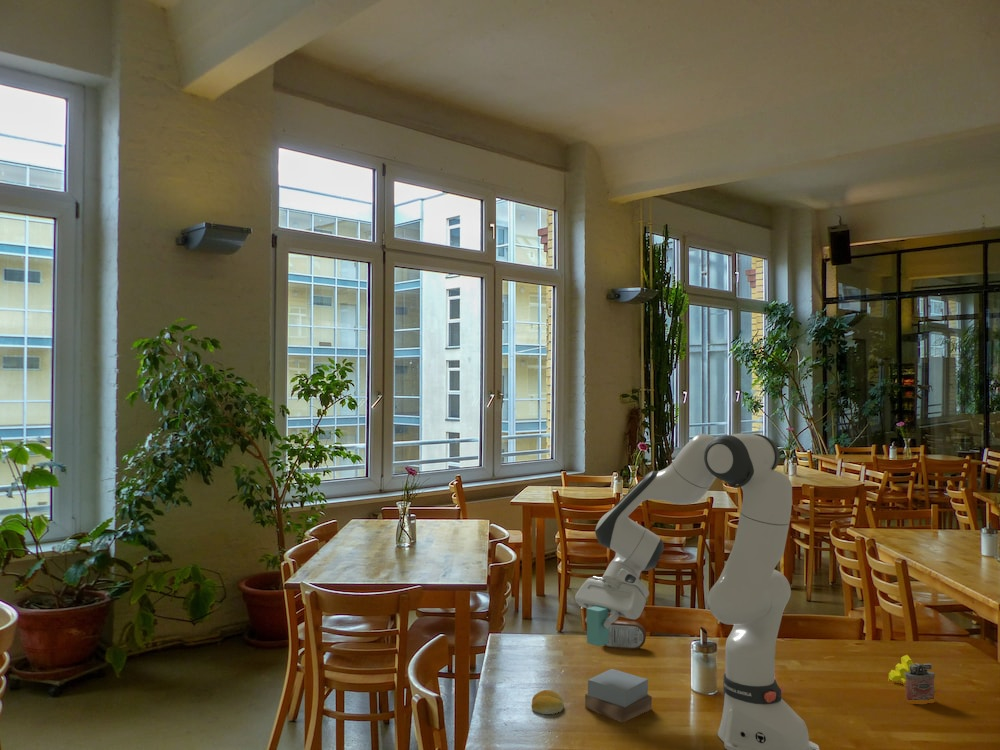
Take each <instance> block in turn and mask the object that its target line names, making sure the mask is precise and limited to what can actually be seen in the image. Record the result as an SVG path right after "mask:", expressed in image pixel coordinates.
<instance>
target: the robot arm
mask: <svg viewBox="0 0 1000 750" xmlns="http://www.w3.org/2000/svg"><path fill="white" fill-rule="evenodd" d="M779 463H780V450H779V448H778V445H777V444H776V443H775V441H773V440H772V439H771V438H770V437H768V436H765V435H763V434H758V433H752V434H750V433H744V432H741V433H740V432H739V433H732V434H725V435H720V436H718V437H716V436H713V435H711V434H707V433H700V434H696V435H694V437H692V438H691V439H690V440H689V441H688V442H687V443H686V444H685V445H684V446H683V447H682V449H681V450H680V451H679V452H678V453H677V454H676V456H675V458H673V461H672V462H671V463H670V464H669V465H668V466H667V467H665V468H663V469H661V470H652V471H650V472H648V473H647V474H646V475H644V476H643V477H642V478H641V479H640V480H639V481H638V482H636V484H635V485H634V486H633V487H632V488H631V489H630V490H629V491H628V492H627V493H626V494H625V495H624V496H622V498H621V499H620V500H619V501H618V502H617V503H616V504H615V505H614V506H613V507H612V508H611V509H610V510H608V512H606V513H605V514H604V515H602V516H601V518H600V519H599V520H598V522H597V523H596V526H595V529H594V533H595V537H596V540H597V541H598V544H600V545H601V546H603V547H605V548H607V549H609V550H612V551H614V552H615V555H614V557H613V559H612V560H611V561H610V562H609V563H608V565H607V567H606V570H605V571H604V573H603V575H602V576H598V575H597V576H596V575H593V576H591V577H588V578H586V580H585V581H584V582H583V583H582V585H581V586H580V587H579V589H578V591H576V594H575V595H574V600H575V602H576V603H577V605H578V606H579V607H580V608H581V607H582V608H585V609H587V608H590V607H594V606H599V607H603V608H607V609H608V618H607V619H603V621H602V623H601V626H603V628H607V629H608V628H609V626H610V625H611V624H612V623H613V622H614V621H616V620H619V617H623V618H625V619H629V620H632V621H633V620H634V621H635V620H637V619H638V618H640V617H641V615H642V612H644V608H645V606H646V603H647V601H646V599H647V598H648V597H649V596H650V591H649V590H648V588H647V586H646V585H645V584H644V582H643V581H642V580H641V579H640V576H641V573H642V572H643V571H644V572H645V571H649V570H652V569H655V568H656V567H657V565H658V563H659V560H660V558H661V556H662V554H663V552H664V551H665V547H664V543H663V540H662V538H661V537H660V536H659V535H657V534H656V533H655V532H653V531H652V530H649V529H648V528H647V527H646V528H645V527H644V526H642V525H641V524H639V523H638V522H636V521H634V520H632V518H630V517H629V516H630V515H631V514H632V513H633V512H634V511H635V510H636V509H637V508H639V507H638V506H640V505H641V504H642V503H643V502H644V501H647V500H648V501H651V500H655V501H660V502H661V501H662V502H666V503H671V504H675V505H681V506H682V505H683V506H684V505H691V504H694V503H696V502H698V501H700V500H701V499H702V498H703V496H705V495H706V493H707V492H708V491H709V490H710V488H711V486H712V485H713V484H714V482H715V480H716V479H719V480H720V481H723V482H724V483H726V484H727V485H728V486H730V487H732V488H734V489H738V488H741V490H742V503H741V507H740V513H739V519H738V523H737V529H736V534H735V539H734V541H733V546H732V548H731V551H730V554H729V556H728V557H727V558H728V559H727V560H726V563H725V565H724V567H723V569H722V571H721V573H720V576H719V577H718V579H717V580H716V582H715V583H714V584H713V585H712V587H710V590H709V591H708V596H707V605H708V608H709V611H710V612H711V614H712V615H713V617H714V618H715V619H716V620H717V621H718V622H720V623H722V624H724V625H730V626H731V625H733V626H732V630H731V631H730V633H729V635H728V637H727V638H726V641H725V672H724V674H723V681H722V682H723V683H722V684H723V688H722V690H723V696H724V699H723V700H724V701H723V709H722V714H721V715H722V716H721V720H720V725H719V728H718V731H717V736H718V737H719V739H720V740H721V741H722V742H723V746H724V749H726V750H820V747H819V745H818V744H817V743H815V742H813V741H811V740H810V737H809V736H810V735H809V730H808V727H807V724H806V722H805V721H804V720H803V718H801V716H800V715H798V713H796V712H795V710H793V708H792V707H791V706H790V705H789V704H788V703H787V702H786V701H785V700H784V699H783V698H782V697H783V696H782V693H783V692H785V691H786V690H785V688H786V686H785V685H783V686H782V687H780V686H779V685H778V683H777V680H776V679H775V665H776V663H775V659H776V647H777V646H776V645H777V639H778V635H779V631H780V626H781V622H782V617H783V615H784V610H785V609H786V606H787V605H788V602H789V601H790V598H791V596H792V589H791V585H790V582H789V580H788V579H787V577H786V576H785V575H784V574H783V573H782V572H781V571H779V570H777V569H775V568H776V567H777V565H778V564H779V562H780V561H781V560H782V558H783V557H784V554H785V549H786V548H785V547H786V544H787V539H788V533H789V528H790V522H791V517H792V507H793V486H792V485H793V484H792V482H791V480H790V479H789V478H788V477H787V476H786V475H785V474H783V473H782V472H780V471H777V470H776V468H777V467H778V465H779ZM609 614H610V615H609ZM584 621H585V623H586V624H587V616H586V617H585V619H584Z"/></svg>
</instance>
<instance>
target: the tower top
mask: <svg viewBox="0 0 1000 750" xmlns="http://www.w3.org/2000/svg"><path fill="white" fill-rule="evenodd" d="M648 688H649V679H648V678H645V677H641V676H638V675H635V674H631V673H629V672H628V673H627V672H625V671H623V670H622V671H621V670H618V669H615V668H610V669H608V670H605V671H604V672H601V673H600V674H597V675H594V676H593V677H591V678H589V679H587V693H588V696H591V697H594V698H597V699H600V700H603V701H606V702H609V703H612V704H615V705H618V706H622V707H627V706H629V705H630V704H632V703H634V702H636V701H638V700H639V699H641V698H643V697H645V696H646V695H649V693H648V692H649V690H648Z"/></svg>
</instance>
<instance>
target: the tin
mask: <svg viewBox="0 0 1000 750" xmlns="http://www.w3.org/2000/svg"><path fill="white" fill-rule="evenodd" d="M646 638H647V632H646V629H645V627H644V626H643V625H642V624H641V623H639V622H638V621H635V620H634V621H633V620H619V619H617V620H616V621H614V622H613V623H612V624H611V625H610V626H609V643H608V644H605V645H604V646H605V647H607V648H611V649H625V650H638V649H640V648H641V647H642V646H644V644H645V642H646Z"/></svg>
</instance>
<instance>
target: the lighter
mask: <svg viewBox="0 0 1000 750" xmlns="http://www.w3.org/2000/svg"><path fill="white" fill-rule="evenodd" d="M929 670H933V665H932V664H931V663H922V664H920V663H918V662H915V663H914V665H910V672H906V673H905V677H906V686H905V698H906V699H908V700H929V699H934V698H935V678H936V673H934V672H932V671H929Z"/></svg>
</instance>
